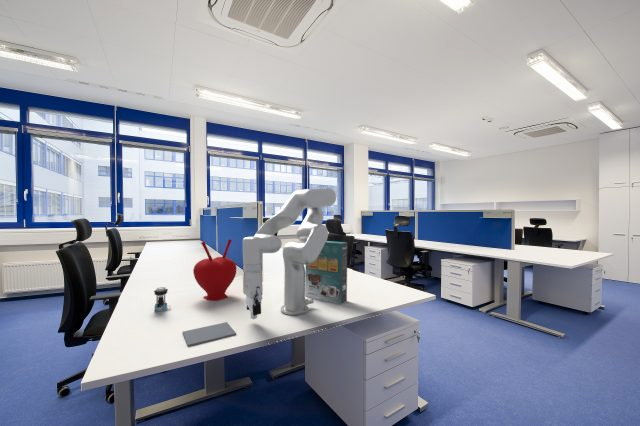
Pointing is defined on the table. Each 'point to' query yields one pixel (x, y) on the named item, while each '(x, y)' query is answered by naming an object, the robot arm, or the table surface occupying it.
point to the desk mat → (208, 333)
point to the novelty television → (215, 274)
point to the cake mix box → (328, 274)
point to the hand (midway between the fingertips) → (253, 311)
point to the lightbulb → (251, 306)
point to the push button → (160, 299)
